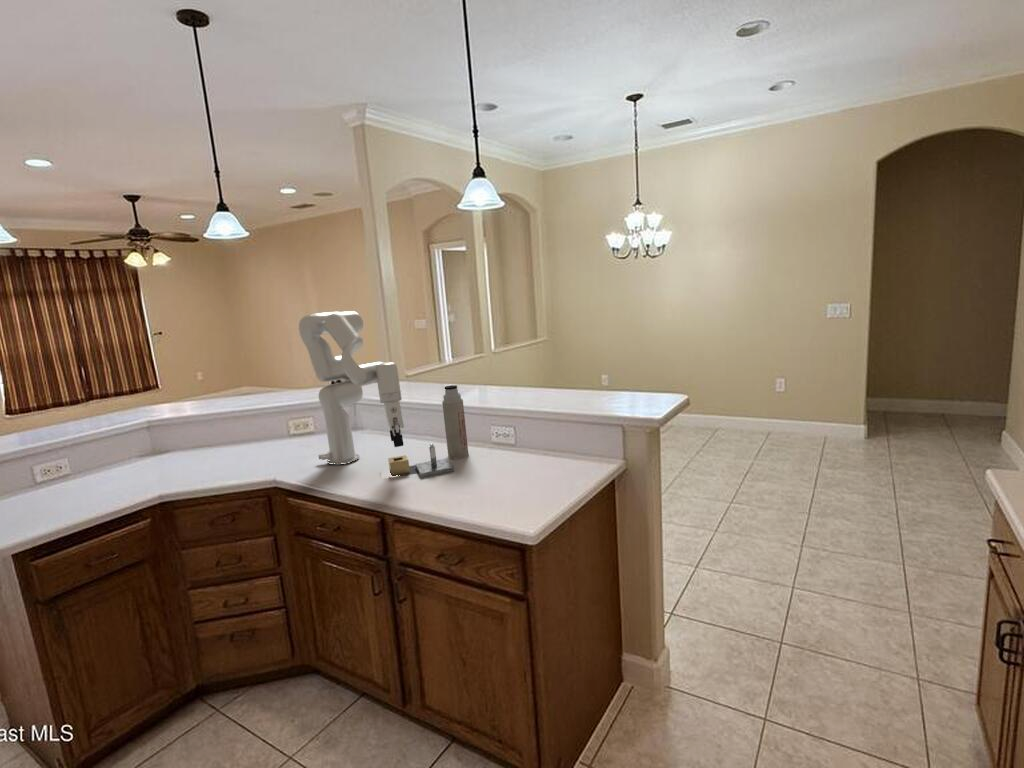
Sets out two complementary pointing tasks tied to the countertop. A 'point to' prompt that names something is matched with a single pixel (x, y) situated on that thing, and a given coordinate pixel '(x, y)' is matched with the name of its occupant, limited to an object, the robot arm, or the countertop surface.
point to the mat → (411, 471)
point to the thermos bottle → (454, 423)
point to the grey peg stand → (434, 465)
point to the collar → (399, 465)
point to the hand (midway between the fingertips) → (397, 443)
